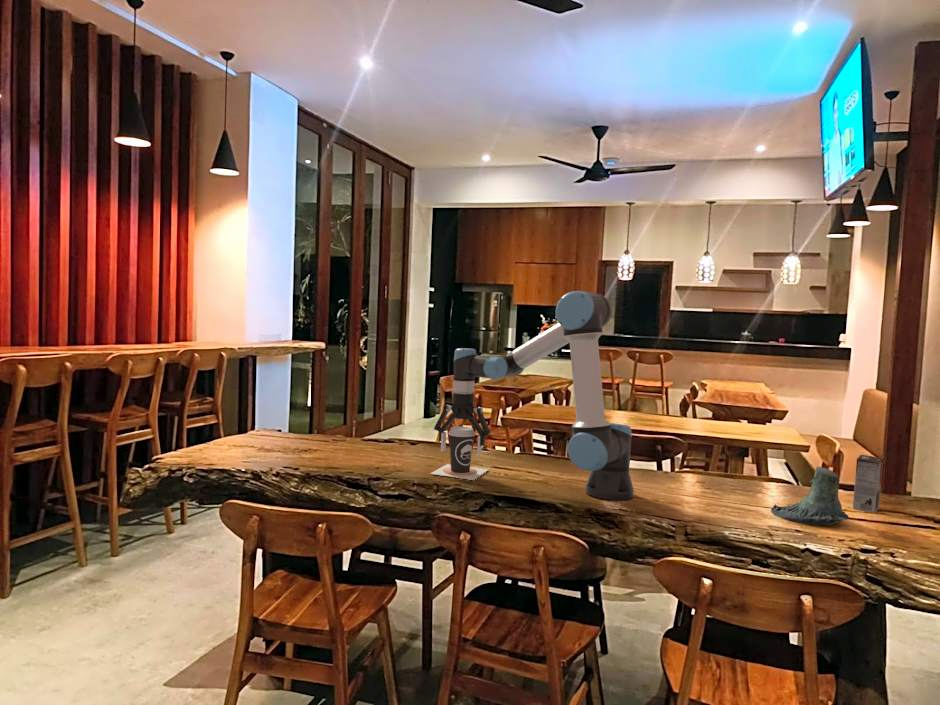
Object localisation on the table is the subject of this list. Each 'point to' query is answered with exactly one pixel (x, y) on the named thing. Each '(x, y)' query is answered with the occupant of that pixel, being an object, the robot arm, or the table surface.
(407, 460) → the table surface
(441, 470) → the coaster mat
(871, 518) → the table surface
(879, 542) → the table surface
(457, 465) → the coffee cup
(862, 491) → the coffee box
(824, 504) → the tree stump
